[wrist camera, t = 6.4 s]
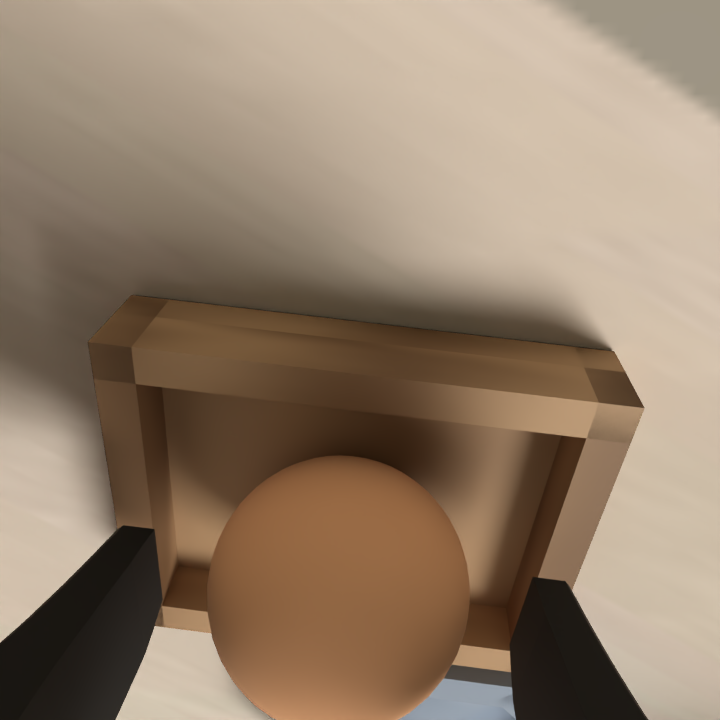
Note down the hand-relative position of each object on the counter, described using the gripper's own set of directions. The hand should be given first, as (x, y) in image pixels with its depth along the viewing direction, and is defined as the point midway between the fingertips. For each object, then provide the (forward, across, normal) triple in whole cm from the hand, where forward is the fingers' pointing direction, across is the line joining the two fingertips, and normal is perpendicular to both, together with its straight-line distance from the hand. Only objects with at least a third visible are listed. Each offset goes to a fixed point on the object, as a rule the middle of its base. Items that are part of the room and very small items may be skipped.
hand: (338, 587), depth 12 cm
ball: (+3, 0, 0) cm, 3 cm away
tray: (+3, 0, 0) cm, 3 cm away
